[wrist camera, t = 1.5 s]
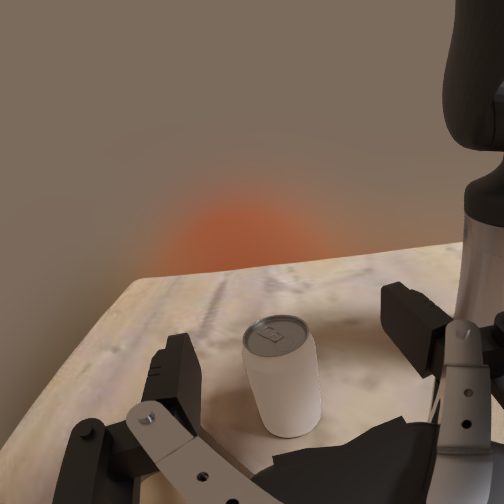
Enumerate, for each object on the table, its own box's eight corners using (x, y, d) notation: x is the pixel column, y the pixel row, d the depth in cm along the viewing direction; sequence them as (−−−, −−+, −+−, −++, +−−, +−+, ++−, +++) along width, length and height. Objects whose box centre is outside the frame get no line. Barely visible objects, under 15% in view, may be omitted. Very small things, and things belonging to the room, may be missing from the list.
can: (288, 450, 25) (268, 372, 21) (251, 416, 30) (223, 336, 26) (334, 413, 28) (330, 328, 24) (294, 386, 33) (279, 304, 29)
